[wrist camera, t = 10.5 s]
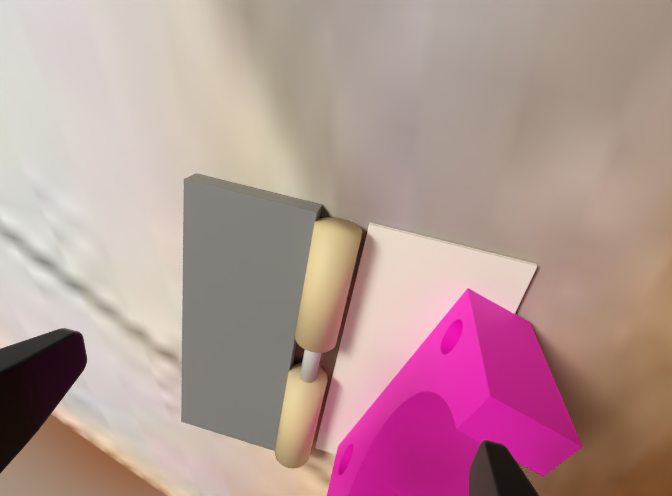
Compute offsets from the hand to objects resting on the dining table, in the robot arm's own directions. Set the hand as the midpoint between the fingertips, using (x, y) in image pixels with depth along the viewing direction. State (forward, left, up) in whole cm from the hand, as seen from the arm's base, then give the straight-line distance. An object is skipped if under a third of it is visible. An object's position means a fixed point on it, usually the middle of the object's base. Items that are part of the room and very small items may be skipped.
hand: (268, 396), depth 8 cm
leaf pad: (-5, +9, -13) cm, 17 cm away
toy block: (-7, +11, -13) cm, 18 cm away
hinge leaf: (+4, +9, -13) cm, 16 cm away
